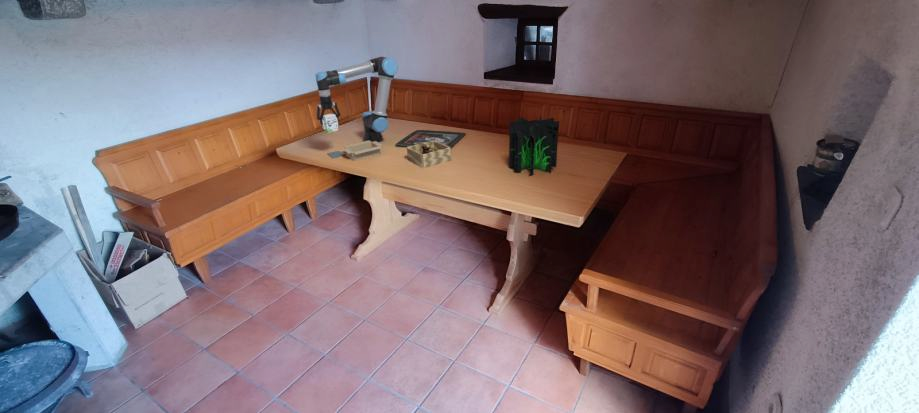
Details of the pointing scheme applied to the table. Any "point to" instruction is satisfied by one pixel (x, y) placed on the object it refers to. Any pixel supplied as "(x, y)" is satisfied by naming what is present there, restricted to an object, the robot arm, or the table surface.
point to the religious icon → (431, 138)
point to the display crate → (429, 154)
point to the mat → (335, 154)
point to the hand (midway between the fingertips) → (330, 127)
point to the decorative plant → (533, 145)
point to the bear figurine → (426, 148)
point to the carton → (362, 150)
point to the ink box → (330, 123)
